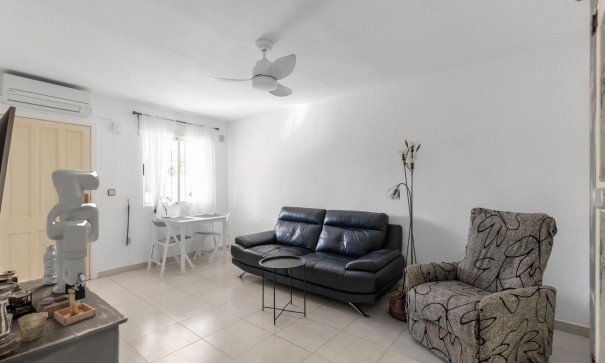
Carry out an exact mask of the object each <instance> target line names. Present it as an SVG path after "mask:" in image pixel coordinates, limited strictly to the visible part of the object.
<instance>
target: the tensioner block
mask: <svg viewBox="0 0 605 363" xmlns="http://www.w3.org/2000/svg"><path fill="white" fill-rule="evenodd" d="M36 306H37V307H36V309H37V310H36V312H37V313H38V312H48V317H47V318H46V319H49V318H52V317H53V318H54V312H55V311H58V310H62V309H65V308H68V307H70V294H67V295H66V294H64V295H60V296H56V297H53V296H52V297H51V296H50V297H45V298H43V299H41V300H40V301H37V304H36Z"/></svg>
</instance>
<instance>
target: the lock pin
mask: <svg viewBox="0 0 605 363" xmlns="http://www.w3.org/2000/svg"><path fill="white" fill-rule="evenodd" d="M75 290H76V288H75V287H72V288H69V289H68V293H70V294H69V296H70V317H72V316H75V315H78V314H80V304H81V299H80V300H77V301H76V300H75Z"/></svg>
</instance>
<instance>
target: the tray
mask: <svg viewBox="0 0 605 363" xmlns="http://www.w3.org/2000/svg"><path fill="white" fill-rule="evenodd" d="M92 316H93V317H95V316H96V308H94V307H92V306H91V305H89V304H86V303H85V302H80V314H78V315H75V316H72V317H70V307H68V308H65V309H62V310H58V311H55V312H54V316H53V319H54V320H56V321H57V322H59V323H60V324H61V325H62V326H64V327H66V326H70V325H72V324H75V323H78V322H81V321H84V320H86V319H87V320H88V319H89V318H92Z"/></svg>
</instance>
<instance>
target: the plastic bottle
mask: <svg viewBox="0 0 605 363" xmlns="http://www.w3.org/2000/svg"><path fill="white" fill-rule="evenodd" d="M45 250H46V252H45V253H44V254H43V256H42V262H43V276H42V284H43V285H44V286H48V285H55V284H57V246H56V244H51V245H47V246H46V249H45Z"/></svg>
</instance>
